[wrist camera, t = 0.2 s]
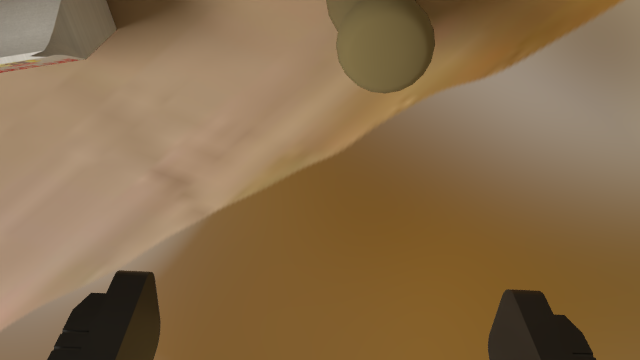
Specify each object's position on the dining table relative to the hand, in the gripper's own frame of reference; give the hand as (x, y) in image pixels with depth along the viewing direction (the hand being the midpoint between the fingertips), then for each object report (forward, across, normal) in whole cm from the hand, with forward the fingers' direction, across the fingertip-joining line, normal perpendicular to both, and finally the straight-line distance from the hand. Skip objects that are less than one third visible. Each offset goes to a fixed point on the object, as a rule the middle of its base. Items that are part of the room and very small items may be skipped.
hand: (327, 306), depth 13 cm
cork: (+29, -3, 0) cm, 29 cm away
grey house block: (+29, +18, +2) cm, 34 cm away
